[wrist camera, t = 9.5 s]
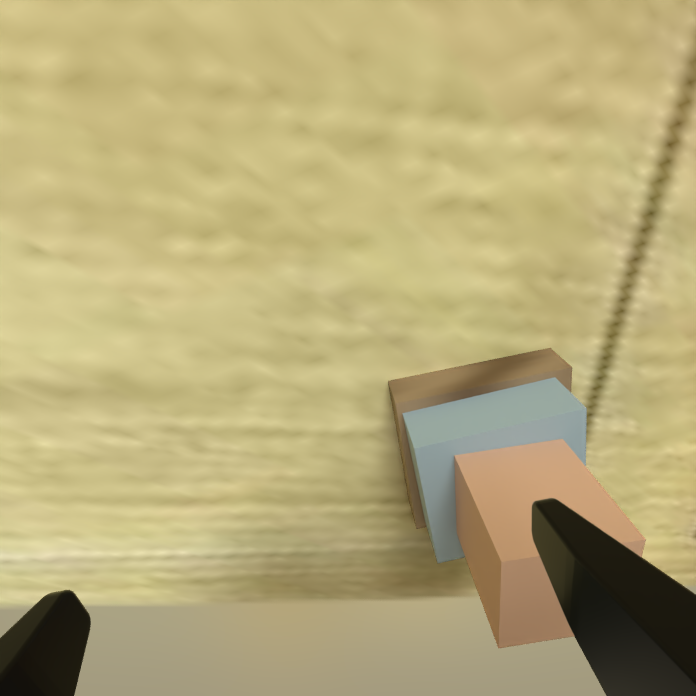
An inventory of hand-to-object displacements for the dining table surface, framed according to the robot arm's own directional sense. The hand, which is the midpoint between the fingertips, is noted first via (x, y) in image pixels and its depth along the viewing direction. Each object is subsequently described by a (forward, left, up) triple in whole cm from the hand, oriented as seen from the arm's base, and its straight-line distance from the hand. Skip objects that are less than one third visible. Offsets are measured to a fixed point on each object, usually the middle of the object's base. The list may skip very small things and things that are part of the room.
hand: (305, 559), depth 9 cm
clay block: (-7, +8, -8) cm, 13 cm away
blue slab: (-7, +8, -10) cm, 15 cm away
